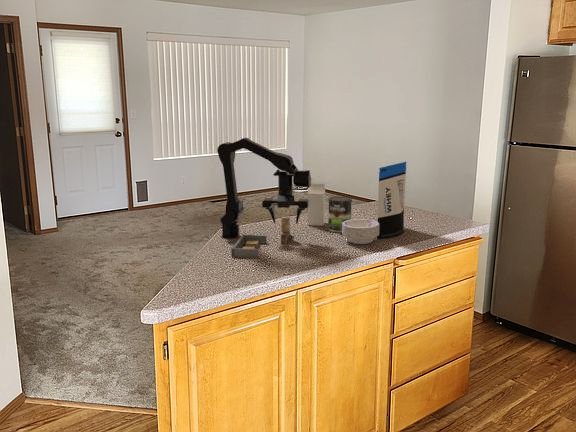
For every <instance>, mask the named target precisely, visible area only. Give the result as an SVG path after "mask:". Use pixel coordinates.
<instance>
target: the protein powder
mask: <svg viewBox="0 0 576 432" xmlns="http://www.w3.org/2000/svg"><path fill="white" fill-rule="evenodd" d="M378 169H379V170H378V171H379V172H378V192H377V194H378V198H377V199H378V200H377V201H378V202H377V222H378V223H379V235H378V236H377V237H376V240H382V239H383V240H384V239H385V240H386V239H392V238H397V237H399V236H402V235H403V234H404V232H405V219H404V217H405V216H404V215H405V212H404V211H405V195H406V177H407V176H406V175H407V174H406V173H407V161H403V162H399V163H395V164H391V165H386V166H383V167H379V168H378Z"/></svg>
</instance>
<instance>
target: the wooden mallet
mask: <svg viewBox="0 0 576 432" xmlns="http://www.w3.org/2000/svg"><path fill="white" fill-rule="evenodd" d="M290 219H291V218H290V216H285V215H284V216H282V217H281V235H280V244H281V245H286V244H287V243H288V240H289V239H290V236H291V224H290V223H291V222H290Z"/></svg>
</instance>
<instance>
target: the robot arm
mask: <svg viewBox="0 0 576 432" xmlns="http://www.w3.org/2000/svg"><path fill="white" fill-rule="evenodd" d="M242 149H245V150H247V151H249V152H251V153H252V154H255V155H257V156H259V157H261V158H263V159H265V160H267V161H268V162H270V163H271V164H272V165H273V166H274V167H275V168H276V169H277V170H276V171H275V172H274V173H273V176H274V177H277V178H278V181H277V182H278V194H277V199H276V200H274V198H269V197H268V198H267V197H265V198H264V199H263V200H262V201H261V205H262V208H265V210H268V212H269V213H270V216H271V218H272V221H273V224H276V220H277V219H276V211H275V210H276V209H275V206H277V208H278V209H281V208H284V209H289V208H290V206H297V209H296V216H295V224H296V225H298V223H299V219H300V216H301V213H302V211H305V210H306V209H308V206H309V200H308V198H299V199H298V200H296V199H295V195H293V185H294V186H295V187H296V188H309V187H310V186H311V183H312V176H311V170H307V169H306V170H299V169H298V167H297V166H296V165H295V163H294V160H293V157H292V156H291V155H289V154H286V153H281V152H278V151H277V152H276V151H273V150H271V149H270V148H267V147H265V146H263V145H261V144H259V143H257V142H255V141H253V140H251V139H250V138H248V137H243V138H241V139H240V140H236V141H234V142H230V141H229V142H228V141H227V142H224V143H221V144H219V145H218V147H217V149H216V150H217V151H216V152H217V155H218V158H219V160H220V162H221V164H222V167H223V175H224V183H225V192H226V204H225V212H224V215H223V216H222V217H221V218H220V220H219V221H220V223H221V227H222V228H221V232H222V234H221V238H226V239H228V238H232V239H233V238H234V239H236V238H238V236H239V235H240V234H241V233H240V224H239V221H238V220H239V218H240V217H241V216H242V214H243V213H244V210H245V207H244V200H243V199H242V200H240V198H239V197H238V189H237V181H236V172H235V160H236V152H237V151H239V150H242Z"/></svg>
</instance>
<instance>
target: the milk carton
mask: <svg viewBox="0 0 576 432" xmlns="http://www.w3.org/2000/svg"><path fill="white" fill-rule="evenodd" d="M307 199H308V200H309V206H308V208H307V226H320V227H321V226H324V224H325V222H326V188H325V183H313V182H311V186H310V187H308V191H307Z"/></svg>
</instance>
